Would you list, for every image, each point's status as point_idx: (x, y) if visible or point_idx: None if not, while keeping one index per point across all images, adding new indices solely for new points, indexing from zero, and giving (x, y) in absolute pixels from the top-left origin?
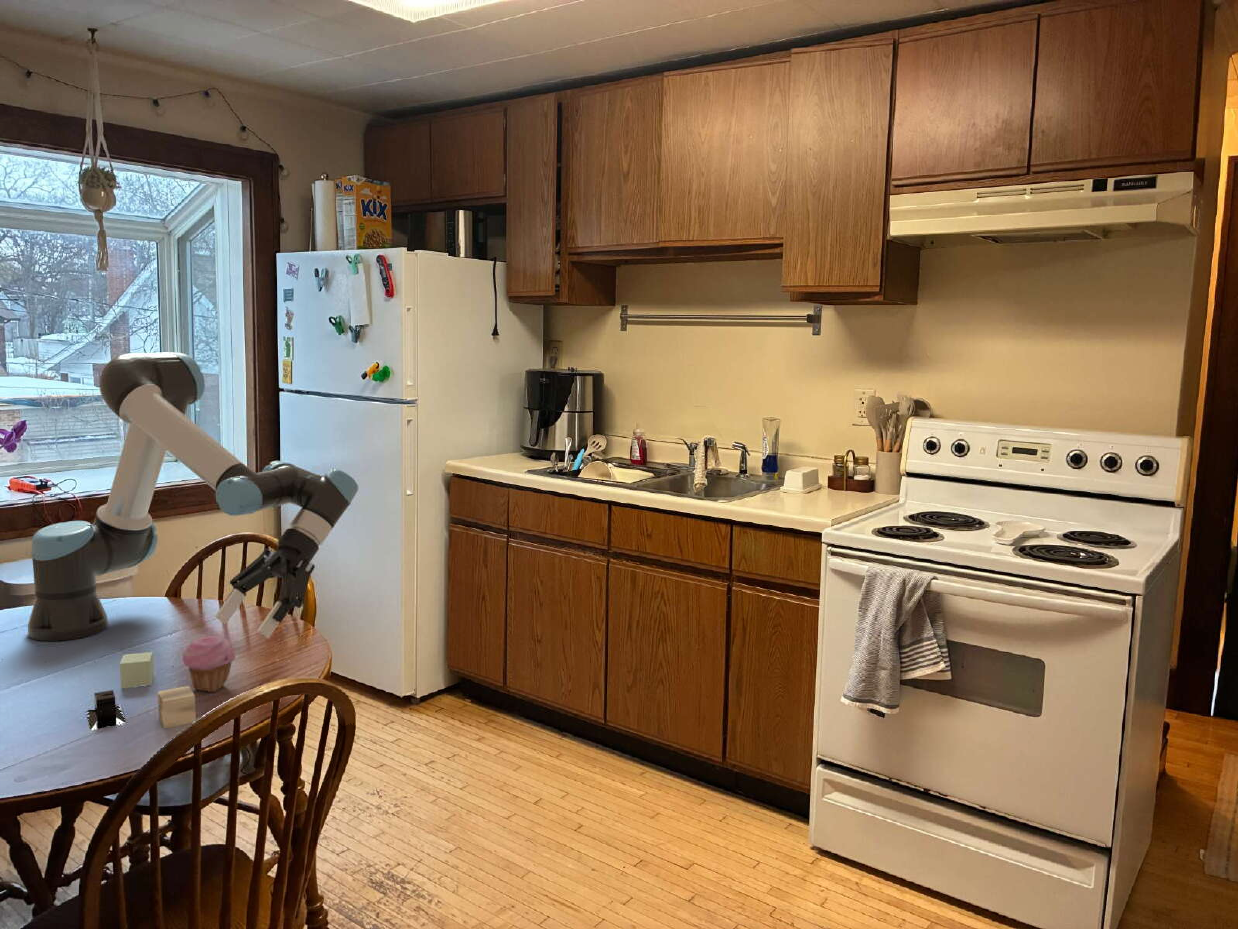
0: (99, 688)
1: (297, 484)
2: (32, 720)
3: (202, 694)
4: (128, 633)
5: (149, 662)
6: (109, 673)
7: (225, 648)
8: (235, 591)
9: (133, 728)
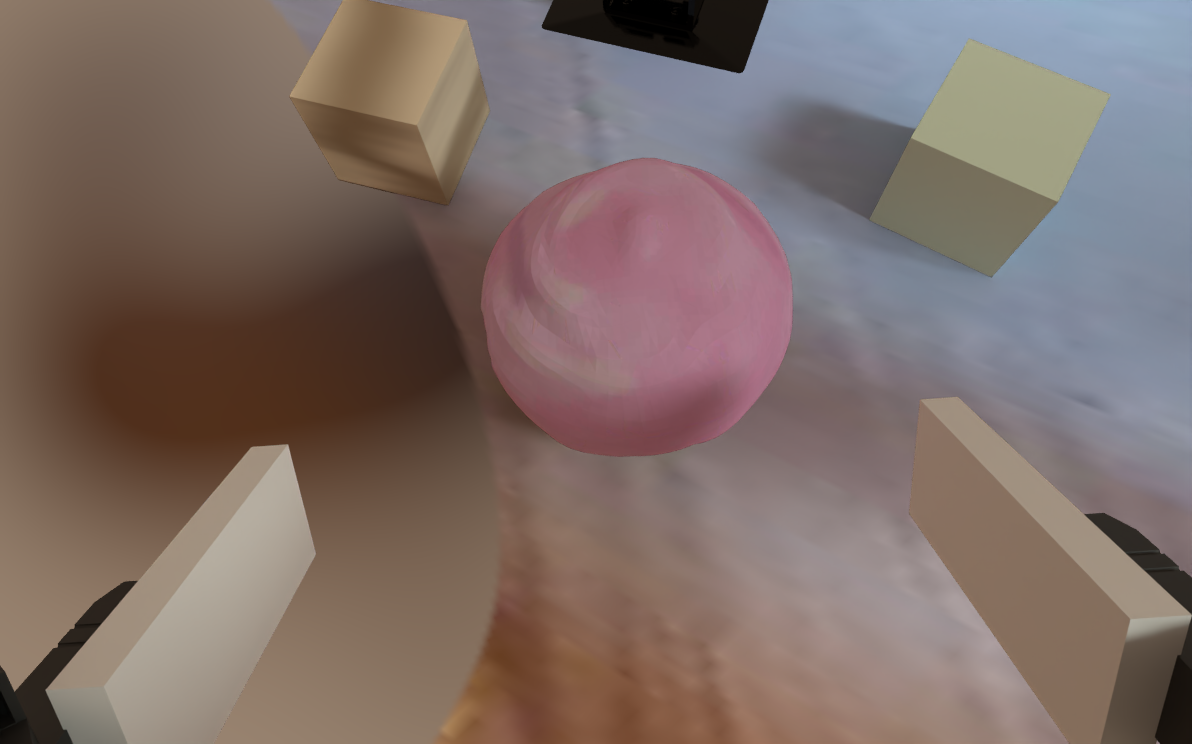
0: None
1: None
2: None
3: None
4: None
5: (908, 143)
6: (1167, 164)
7: (498, 317)
8: (1104, 592)
9: (478, 28)
